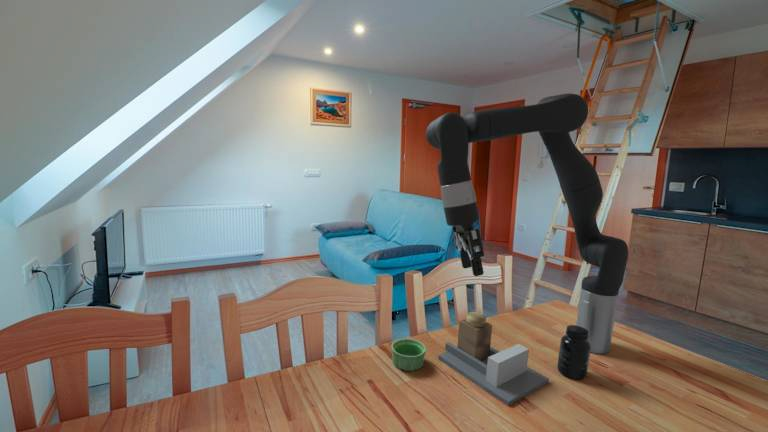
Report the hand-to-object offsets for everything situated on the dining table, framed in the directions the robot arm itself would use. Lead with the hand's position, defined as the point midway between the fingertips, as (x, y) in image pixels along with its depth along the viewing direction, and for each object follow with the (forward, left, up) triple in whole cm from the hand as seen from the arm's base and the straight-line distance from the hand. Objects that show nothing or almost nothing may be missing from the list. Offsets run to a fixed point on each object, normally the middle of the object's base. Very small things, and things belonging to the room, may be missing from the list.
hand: (472, 271), depth 84 cm
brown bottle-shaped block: (-9, -5, -26) cm, 28 cm away
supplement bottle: (-26, +13, -28) cm, 40 cm away
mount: (-9, 0, -27) cm, 29 cm away
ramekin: (+7, -13, -28) cm, 32 cm away
